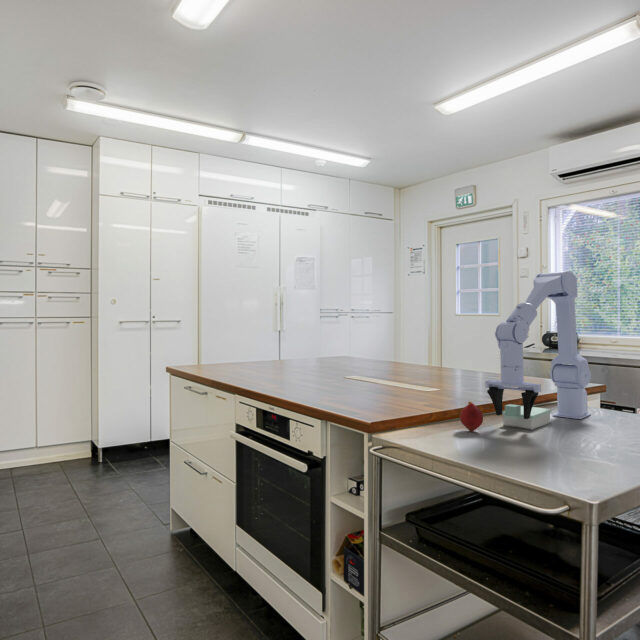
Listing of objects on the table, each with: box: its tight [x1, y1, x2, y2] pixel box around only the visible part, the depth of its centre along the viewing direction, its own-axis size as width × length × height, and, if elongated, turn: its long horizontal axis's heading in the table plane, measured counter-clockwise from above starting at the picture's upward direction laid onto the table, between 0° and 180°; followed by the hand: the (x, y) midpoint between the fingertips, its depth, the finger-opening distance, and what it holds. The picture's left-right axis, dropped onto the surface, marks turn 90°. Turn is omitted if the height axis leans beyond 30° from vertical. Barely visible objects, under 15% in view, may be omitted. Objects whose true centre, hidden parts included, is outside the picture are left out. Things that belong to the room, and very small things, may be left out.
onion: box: [459, 400, 484, 432], centre depth 130 cm, size 6×6×8 cm
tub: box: [502, 412, 551, 431], centre depth 138 cm, size 12×8×3 cm, turn 134°
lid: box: [501, 403, 552, 420], centre depth 136 cm, size 17×9×4 cm, turn 134°
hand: (512, 416), depth 132 cm, fingers open, 7 cm apart
